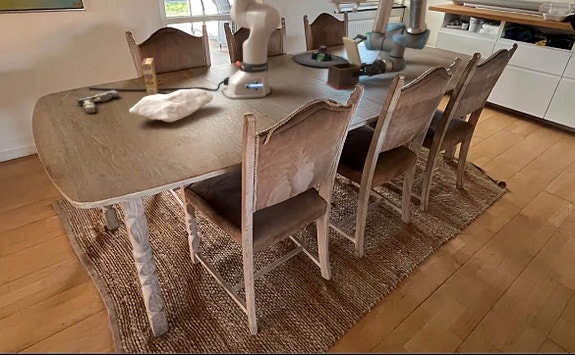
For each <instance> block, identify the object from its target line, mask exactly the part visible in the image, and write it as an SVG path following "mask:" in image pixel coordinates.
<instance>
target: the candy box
mask: <svg viewBox="0 0 575 355" xmlns="http://www.w3.org/2000/svg"><path fill="white" fill-rule="evenodd" d="M141 66H142V73H143V78H144V82H145V87H146V88H145V89H147V91H146V92H147V96H150V95H156V94H159V91H160V90H158V89H159V84H158V79H157V73H156V66H155V62H154V58H153V57H151V58H150V57H149V58H146V57H145V58H143V60H142V63H141Z"/></svg>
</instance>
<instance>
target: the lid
mask: <svg viewBox="0 0 575 355" xmlns="http://www.w3.org/2000/svg"><path fill="white" fill-rule="evenodd" d="M357 39H359V40H358V41H357ZM364 40H367V37H366V35H363V34H359V33H358V34H356V36H355V37H354V38H349V37H347V36H343V37H342V42H343V45H344V49H345V52H346V57H347V60H348V62H350V63H353V64H356V65H358V66H361V65H362V63H363V62H362V58H361V55H360V54H361V53H360V50H359V47H358V46H359V44H361V43H362V42H364Z"/></svg>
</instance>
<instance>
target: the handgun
mask: <svg viewBox="0 0 575 355" xmlns="http://www.w3.org/2000/svg"><path fill="white" fill-rule="evenodd" d="M119 96H120V94H119V91H115V90H107V91H105V92H104V91H103V92H101V93H96V94H94V95H86V94H85V95H84V94H83V95H81V96H80V97H77V98H76V101H77V104H78V105H82V108H83V109H84V110H85V113H87V114H91V113H95V112H96V104H95V103H98V102H106V101H109V100H111V99H113V98H117V97H119Z"/></svg>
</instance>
